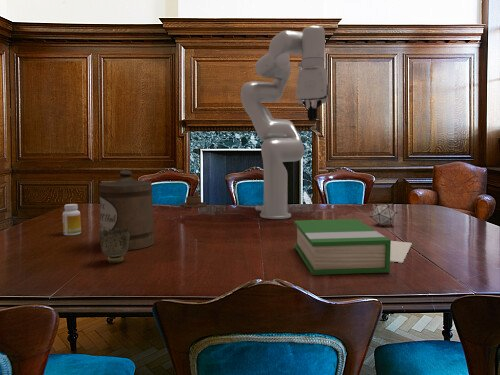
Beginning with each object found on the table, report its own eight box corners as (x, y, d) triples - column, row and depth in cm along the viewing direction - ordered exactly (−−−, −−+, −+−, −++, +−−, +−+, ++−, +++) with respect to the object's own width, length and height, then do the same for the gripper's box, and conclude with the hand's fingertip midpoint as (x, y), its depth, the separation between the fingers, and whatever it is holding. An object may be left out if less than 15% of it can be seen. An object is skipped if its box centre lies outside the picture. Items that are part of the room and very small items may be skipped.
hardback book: (294, 246, 115) (312, 274, 91) (294, 220, 114) (312, 242, 91) (356, 244, 116) (389, 272, 92) (356, 219, 115) (390, 240, 92)
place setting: (170, 207, 195) (170, 195, 195) (195, 202, 213) (194, 191, 212) (201, 210, 187) (201, 197, 187) (223, 204, 205) (223, 192, 204)
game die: (388, 236, 146) (400, 217, 139) (365, 227, 147) (376, 208, 141) (390, 221, 153) (402, 201, 146) (368, 212, 154) (379, 192, 147)
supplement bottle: (84, 232, 136) (83, 203, 135) (73, 236, 131) (71, 206, 130) (71, 231, 138) (70, 203, 137) (59, 235, 133) (58, 205, 132)
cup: (104, 258, 106) (103, 227, 105) (133, 257, 106) (132, 226, 105) (96, 266, 98) (94, 233, 97) (127, 265, 99) (126, 233, 98)
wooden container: (99, 241, 124) (96, 168, 122) (149, 237, 130) (147, 167, 127) (103, 253, 110) (99, 171, 108) (158, 248, 116) (156, 170, 114)
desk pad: (322, 253, 109) (322, 252, 109) (343, 237, 128) (343, 236, 128) (402, 263, 100) (402, 261, 100) (411, 244, 119) (412, 242, 119)
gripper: (288, 65, 138) (287, 120, 140) (331, 61, 131) (330, 119, 133) (296, 69, 145) (295, 121, 147) (337, 65, 138) (336, 120, 140)
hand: (312, 120), depth 140 cm, fingers closed
